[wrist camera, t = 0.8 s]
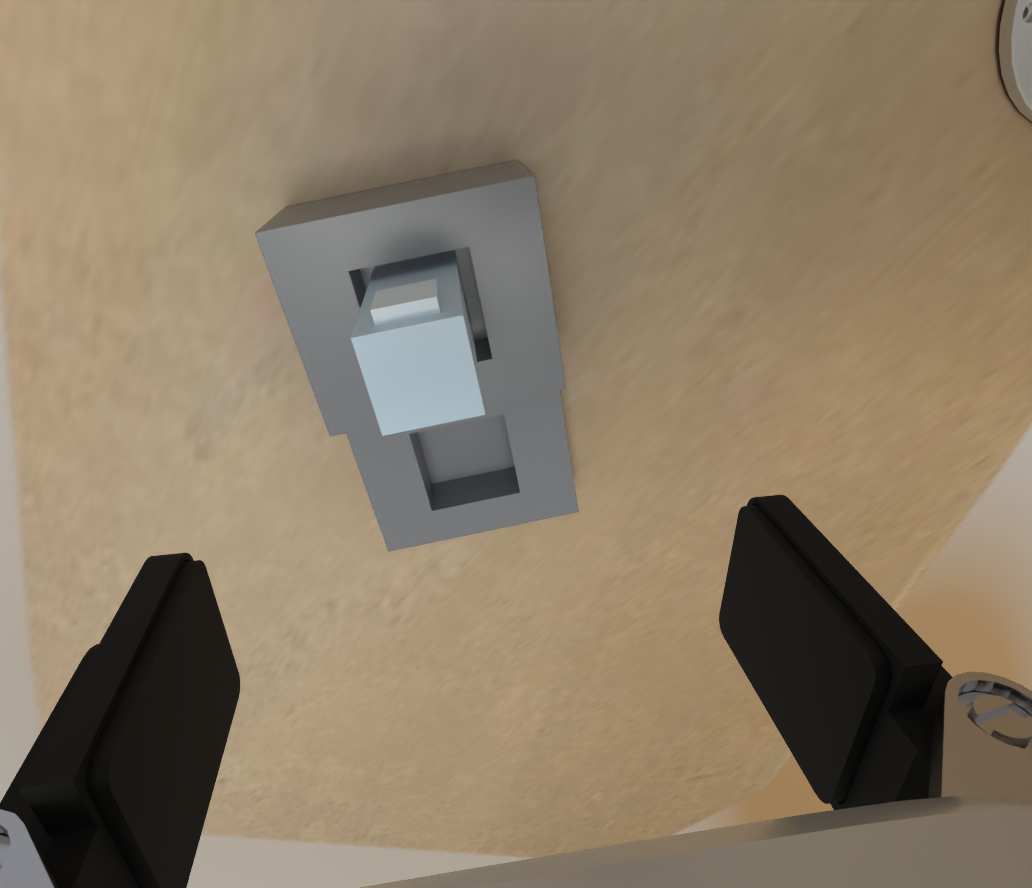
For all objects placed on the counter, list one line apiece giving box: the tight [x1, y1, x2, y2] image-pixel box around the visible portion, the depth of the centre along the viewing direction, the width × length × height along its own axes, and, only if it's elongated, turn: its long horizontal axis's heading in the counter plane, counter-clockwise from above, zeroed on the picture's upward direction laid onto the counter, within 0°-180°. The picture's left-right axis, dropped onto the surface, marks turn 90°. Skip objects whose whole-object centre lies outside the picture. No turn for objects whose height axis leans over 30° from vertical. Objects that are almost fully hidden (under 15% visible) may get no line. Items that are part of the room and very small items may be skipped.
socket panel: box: [255, 160, 579, 552], centre depth 35 cm, size 12×20×6 cm, turn 10°
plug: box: [351, 250, 485, 436], centre depth 28 cm, size 4×5×10 cm
